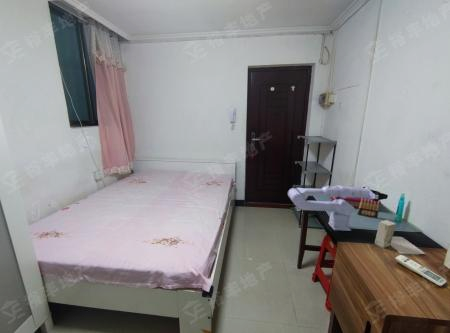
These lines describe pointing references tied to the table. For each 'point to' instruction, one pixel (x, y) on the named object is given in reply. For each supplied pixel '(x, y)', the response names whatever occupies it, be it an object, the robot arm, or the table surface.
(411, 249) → the mat
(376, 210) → the ammunition clip
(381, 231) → the skincare box
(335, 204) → the robot arm
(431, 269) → the table surface
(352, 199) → the book
